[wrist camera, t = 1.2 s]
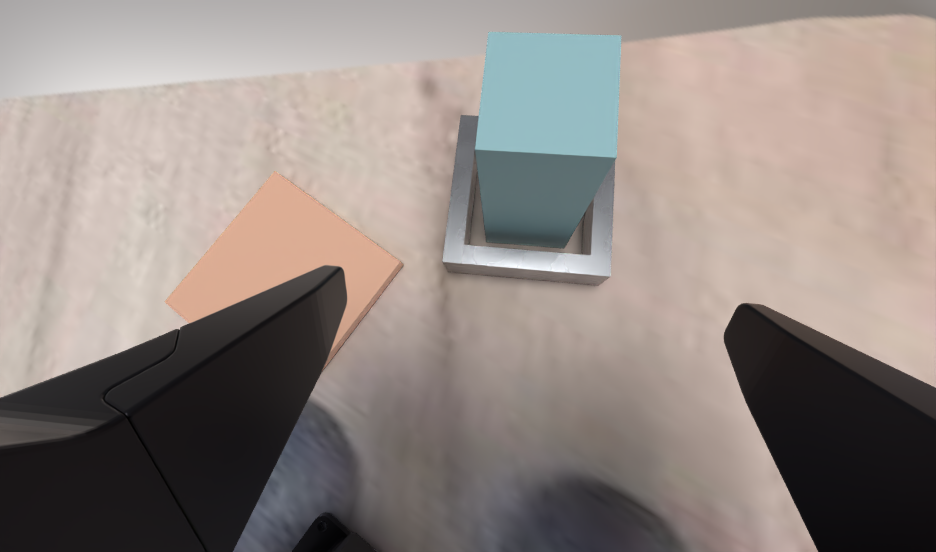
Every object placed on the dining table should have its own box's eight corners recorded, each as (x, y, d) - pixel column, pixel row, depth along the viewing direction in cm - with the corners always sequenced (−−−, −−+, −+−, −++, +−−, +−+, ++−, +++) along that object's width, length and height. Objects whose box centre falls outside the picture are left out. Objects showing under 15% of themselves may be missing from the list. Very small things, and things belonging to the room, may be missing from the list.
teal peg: (564, 248, 23) (616, 157, 12) (486, 242, 23) (474, 149, 13) (568, 176, 24) (621, 35, 13) (493, 171, 24) (488, 32, 14)
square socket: (598, 285, 22) (610, 276, 20) (448, 272, 23) (442, 261, 20) (604, 147, 24) (616, 122, 21) (464, 139, 25) (460, 115, 22)
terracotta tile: (294, 407, 22) (287, 408, 21) (175, 303, 24) (164, 301, 23) (403, 264, 23) (400, 261, 22) (282, 176, 25) (275, 170, 24)
